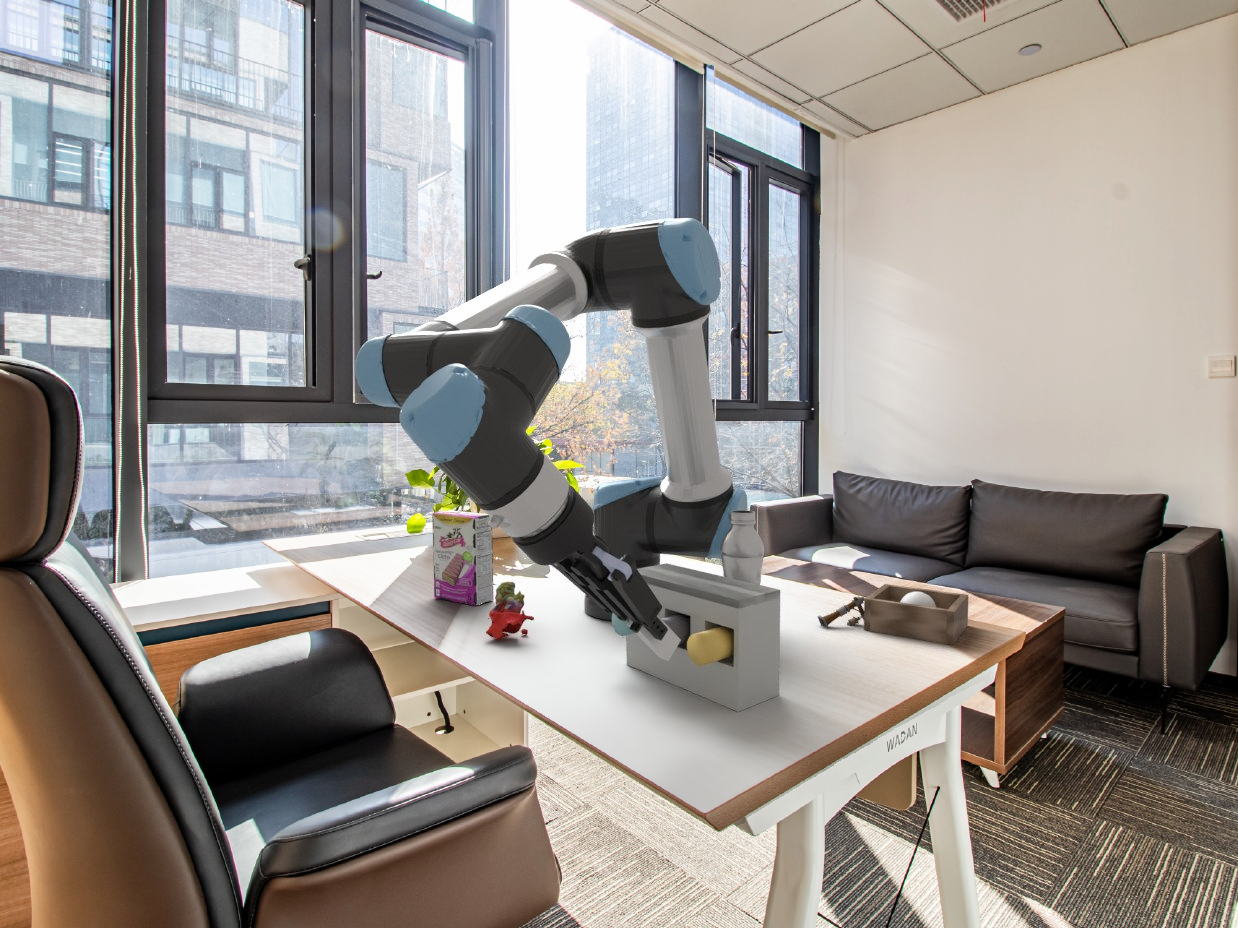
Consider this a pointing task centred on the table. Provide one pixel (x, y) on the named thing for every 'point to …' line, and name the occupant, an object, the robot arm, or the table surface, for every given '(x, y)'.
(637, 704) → the table surface
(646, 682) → the table surface
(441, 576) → the candy bar box
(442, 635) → the table surface
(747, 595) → the console
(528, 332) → the robot arm
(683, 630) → the charcoal button
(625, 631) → the teal button
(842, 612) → the wooden post with brackets
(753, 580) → the plastic bottle
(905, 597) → the white egg
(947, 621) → the organizer frame
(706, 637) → the amber button
